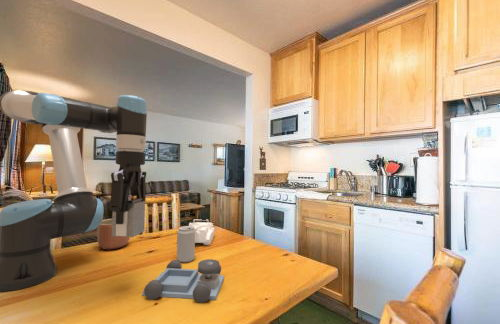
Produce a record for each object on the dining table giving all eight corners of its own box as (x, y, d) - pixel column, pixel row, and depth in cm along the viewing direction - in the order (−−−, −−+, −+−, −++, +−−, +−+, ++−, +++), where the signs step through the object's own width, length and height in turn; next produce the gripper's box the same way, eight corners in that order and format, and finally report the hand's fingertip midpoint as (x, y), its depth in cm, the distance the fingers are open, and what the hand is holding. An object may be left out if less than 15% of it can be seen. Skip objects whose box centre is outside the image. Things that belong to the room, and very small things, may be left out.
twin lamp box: (111, 236, 65) (112, 196, 65) (125, 230, 71) (126, 194, 71) (132, 237, 65) (133, 197, 65) (144, 231, 71) (145, 194, 71)
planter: (91, 253, 94) (92, 225, 94) (102, 243, 106) (103, 218, 106) (125, 251, 97) (126, 224, 97) (133, 241, 109) (133, 217, 109)
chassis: (139, 298, 62) (139, 282, 62) (164, 273, 77) (164, 259, 78) (214, 303, 61) (214, 286, 61) (225, 276, 76) (225, 262, 76)
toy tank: (215, 236, 119) (215, 216, 120) (207, 250, 99) (207, 226, 100) (191, 235, 120) (191, 216, 120) (179, 249, 100) (179, 226, 100)
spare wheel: (195, 281, 66) (195, 267, 66) (201, 271, 72) (201, 258, 72) (216, 282, 65) (216, 268, 65) (220, 272, 71) (221, 259, 71)
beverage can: (185, 264, 84) (186, 230, 84) (172, 261, 87) (173, 228, 88) (198, 258, 90) (198, 226, 90) (185, 255, 93) (186, 224, 93)
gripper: (123, 149, 58) (120, 243, 58) (159, 153, 77) (156, 224, 77) (94, 148, 59) (91, 242, 59) (136, 152, 78) (134, 223, 78)
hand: (128, 231), depth 68 cm, fingers closed on twin lamp box, 6 cm apart
